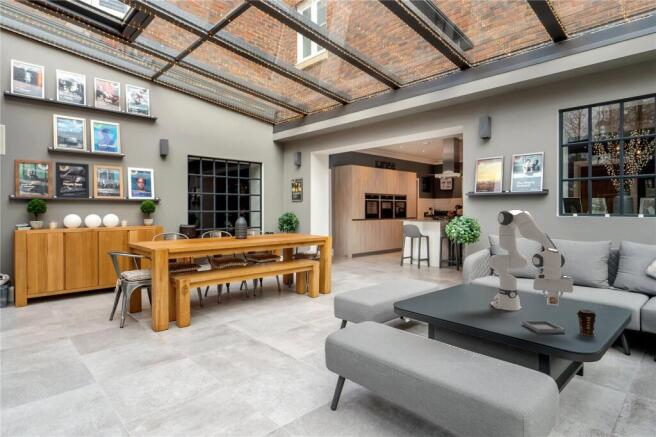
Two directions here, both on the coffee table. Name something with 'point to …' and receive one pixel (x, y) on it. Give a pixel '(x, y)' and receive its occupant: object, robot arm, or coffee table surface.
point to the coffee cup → (586, 322)
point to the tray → (543, 327)
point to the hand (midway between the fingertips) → (552, 298)
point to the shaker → (553, 295)
